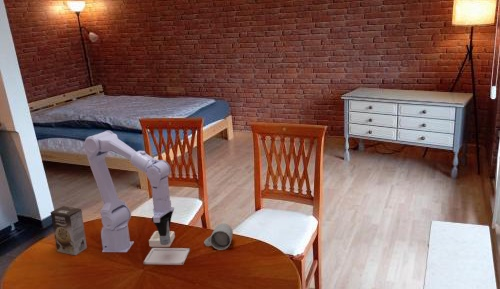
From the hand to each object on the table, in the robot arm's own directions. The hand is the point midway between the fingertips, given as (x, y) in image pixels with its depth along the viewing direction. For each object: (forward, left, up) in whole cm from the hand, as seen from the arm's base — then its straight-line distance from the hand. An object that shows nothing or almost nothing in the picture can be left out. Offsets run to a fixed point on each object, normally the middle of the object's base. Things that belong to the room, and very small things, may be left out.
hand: (164, 232), depth 155 cm
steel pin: (0, 0, -4) cm, 4 cm away
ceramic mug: (+17, +10, -10) cm, 22 cm away
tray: (0, 0, -10) cm, 10 cm away
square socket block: (-5, +11, -10) cm, 16 cm away
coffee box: (-38, +5, -10) cm, 40 cm away
